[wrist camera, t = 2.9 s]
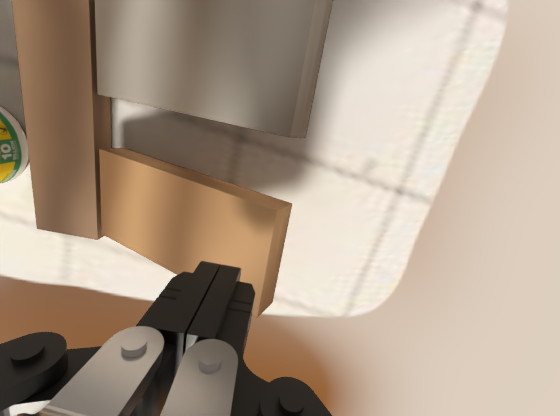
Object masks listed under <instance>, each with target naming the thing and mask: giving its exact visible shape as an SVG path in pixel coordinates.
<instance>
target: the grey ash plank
mask: <svg viewBox="0 0 560 416" xmlns="http://www.w3.org/2000/svg"><path fill="white" fill-rule="evenodd" d="M332 2H333V0H95V25H96V58H97V91H98V94H99V95H103V96H107V97H112V98H116V99H121V100H125V101H130V102H134V103H139V104H143V105H147V106H152V107H156V108H161V109H165V110H170V111H174V112H179V113H183V114H188V115H192V116H196V117H201V118H205V119H210V120H214V121H219V122H223V123H228V124H232V125H236V126H241V127H245V128H250V129H254V130H259V131H263V132H268V133H272V134H277V135H281V136H285V137H290V138H305V137H306V132H307V127H308V122H309V117H310V112H311V107H312V102H313V97H314V92H315V87H316V82H317V77H318V72H319V67H320V62H321V57H322V52H323V47H324V42H325V37H326V32H327V27H328V22H329V17H330V12H331V7H332Z"/></svg>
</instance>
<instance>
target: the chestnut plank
mask: <svg viewBox="0 0 560 416" xmlns="http://www.w3.org/2000/svg"><path fill="white" fill-rule="evenodd" d="M99 156H100V188H101V221H102V234H103V235H105V236H107V237H109V238H111V239H112V240H114V241H116V242H118V243H120V244H122V245H124V246H125V247H127V248H129V249H131V250H133V251H135V252H136V253H138V254H140V255H142V256H144V257H146V258H148V259H149V260H151V261H153V262H155V263H157V264H159V265H160V266H162V267H164V268H166V269H168V270H170V271H172V272H173V273H175V274H177V275H179V274H180V273H182V272H184V271H185V272H190V273H193V272H194V271H195V269H196V268H197V266H198V265H199V263H200V262H201V261H206V262H212V263H217V264H221V265H222V264H223V265H228V266H234V267H239V268H241V276H240V282H245V283H251V284H252V285H253V288H254V291H255V299H254V305H253V311H252V315H253V316H255V317H258V316H259V315H260V314H261V313H262V312H263V311H264V310H265V309H266V308H267V307H268V306H269V305H270V304H271V303H272V302H273V297H274V292H275V287H276V282H277V277H278V272H279V267H280V262H281V257H282V252H283V247H284V242H285V237H286V232H287V227H288V222H289V217H290V212H291V207H292V203H289V202H286V201H283V200H279V199H276V198H273V197H270V196H267V195H264V194H261V193H258V192H255V191H252V190H249V189H246V188H243V187H240V186H237V185H234V184H231V183H228V182H225V181H222V180H219V179H216V178H213V177H210V176H207V175H204V174H201V173H197V172H194V171H191V170H188V169H185V168H182V167H179V166H176V165H173V164H170V163H167V162H164V161H161V160H158V159H155V158H152V157H149V156H146V155H143V154H140V153H137V152H134V151H131V150H128V149H125V148H110V149H99Z"/></svg>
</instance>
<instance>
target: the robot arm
mask: <svg viewBox="0 0 560 416" xmlns="http://www.w3.org/2000/svg"><path fill="white" fill-rule="evenodd" d="M240 276H241V268H239V267H234V266H228V265H223V264H222V265H221V264H217V263H212V262H206V261H201V262H200V263H199V265H198V266H197V268H196V269H195V271H194V272H193V273H190V272H185V271H184V272H182V273H180V274H179V275H177V276H175V277H173V278H172V279H171V281H170V282H169V283H168V284H167V286H166V287H165V289H164V290H163V291H162V292H161V294H160V295H159V297H158V298H157V299H156V300H155V302H154V303H153V304H152V306H151V307H150V308H149V309H148V311H147V312H146V313H145V315H144V316H143V317H142V319H141V320H140V321H139V323H138V324H137V325H136V327H131V328H127V329H125V330H122V331H120V332H118V333H116V334H115V335H114V336H112V337H111V338H110V339H109V340H108V341H107V342H106V343H105V344H104V345H103V346H99V347H91V348H80V349H67V343H66V340H65V339H64V337H63V336H61V335H59V334H57V333H53V332H39V333H33V334H28V335H25V336H22V337H19V338H16V339H14V340H11V341H8V342H5V343H2V344H0V416H160V414H161V416H332V415H331V414H330V412H329V411H328V410H327V408H326V407H325V406H324V405H323V403H322V402H321V401H320V399H319V398H318V397H317V395H316V394H315V393H314V391H313V390H312V389H311V388H310V387H309V386H308V385H307V384H305V383H304V382H302V381H300V380H298V379H295V378H292V377H281V378H277V379H274V380H273V381H271V382H267V381H265V380H263V379H261V378H259V377H258V376H256V375H255V374H253V373H252V372H251V371H250V370H249V369H248V367H247V366H246V364H245V362H244V360H243V354H244V350H245V346H246V341H247V336H248V332H249V328H250V322H251V316H252V311H253V305H254V299H255V291H254V288H253V285H252V284H251V283H245V282H240ZM163 407H164V408H163ZM161 412H162V413H161Z"/></svg>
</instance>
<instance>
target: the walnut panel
mask: <svg viewBox="0 0 560 416" xmlns="http://www.w3.org/2000/svg"><path fill="white" fill-rule="evenodd" d="M12 8H13V17H14V26H15V35H16V44H17V53H18V62H19V71H20V80H21V89H22V98H23V107H24V116H25V125H26V134H27V143H28V152H29V161H30V170H31V179H32V188H33V197H34V206H35V215H36V224H37V229H41V230H47V231H52V232H57V233H63V234H68V235H74V236H79V237H85V238H90V239H95V240H98V239H100V238H101V237H103V236H105V235H103V234H102V221H101V188H100V156H99V149H110V148H111V100H110V97H107V96H103V95H99V94H98V91H97V58H96V25H95V0H12Z"/></svg>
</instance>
